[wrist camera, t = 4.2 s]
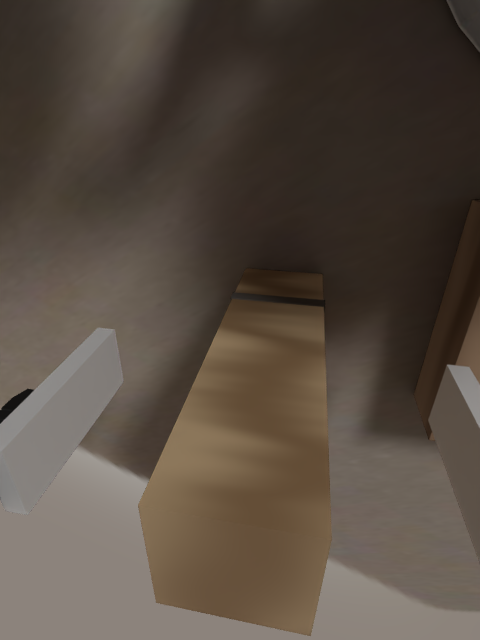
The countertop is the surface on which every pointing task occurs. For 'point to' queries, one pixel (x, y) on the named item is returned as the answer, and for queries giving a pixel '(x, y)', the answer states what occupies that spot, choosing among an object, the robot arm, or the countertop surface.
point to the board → (455, 320)
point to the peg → (249, 465)
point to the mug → (467, 18)
